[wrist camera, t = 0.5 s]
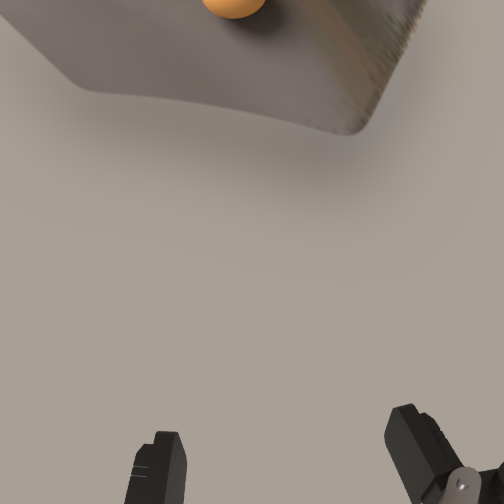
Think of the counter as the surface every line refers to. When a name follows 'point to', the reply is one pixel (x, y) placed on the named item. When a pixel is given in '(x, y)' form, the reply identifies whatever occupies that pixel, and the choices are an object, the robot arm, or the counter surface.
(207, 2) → the ball
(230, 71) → the counter surface
